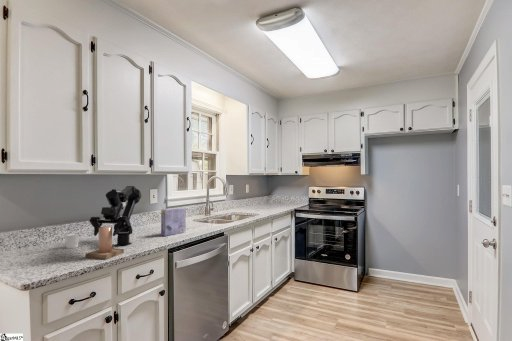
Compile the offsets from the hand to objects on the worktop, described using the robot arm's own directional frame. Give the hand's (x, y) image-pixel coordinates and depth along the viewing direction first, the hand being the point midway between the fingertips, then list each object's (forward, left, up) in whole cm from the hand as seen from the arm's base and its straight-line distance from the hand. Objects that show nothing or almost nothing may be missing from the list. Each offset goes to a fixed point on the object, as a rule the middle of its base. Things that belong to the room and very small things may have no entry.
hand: (104, 235), depth 143 cm
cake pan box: (-59, +5, -10) cm, 60 cm away
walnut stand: (-1, 0, -10) cm, 10 cm away
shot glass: (-11, -31, -10) cm, 35 cm away
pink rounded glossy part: (-1, 0, -8) cm, 8 cm away
